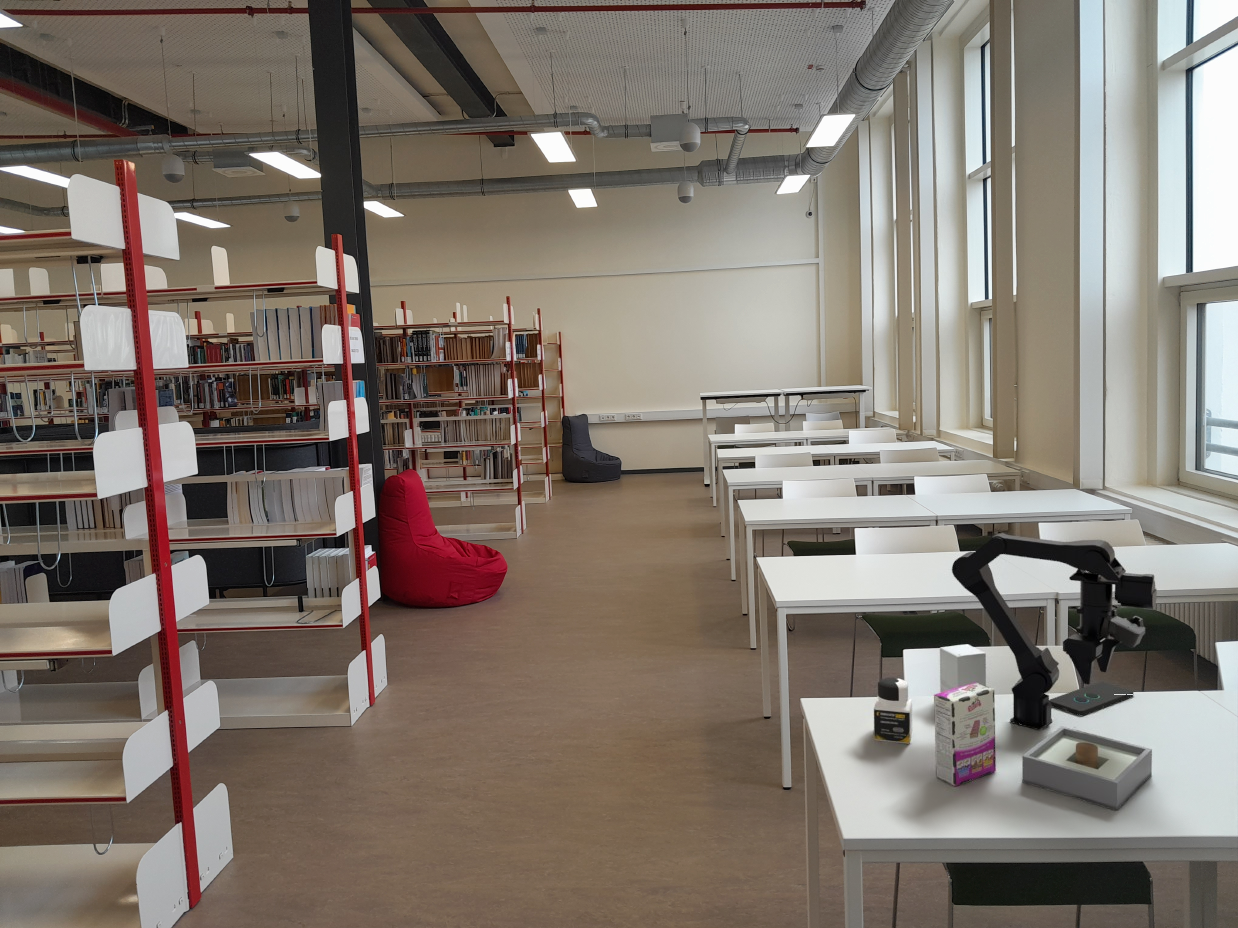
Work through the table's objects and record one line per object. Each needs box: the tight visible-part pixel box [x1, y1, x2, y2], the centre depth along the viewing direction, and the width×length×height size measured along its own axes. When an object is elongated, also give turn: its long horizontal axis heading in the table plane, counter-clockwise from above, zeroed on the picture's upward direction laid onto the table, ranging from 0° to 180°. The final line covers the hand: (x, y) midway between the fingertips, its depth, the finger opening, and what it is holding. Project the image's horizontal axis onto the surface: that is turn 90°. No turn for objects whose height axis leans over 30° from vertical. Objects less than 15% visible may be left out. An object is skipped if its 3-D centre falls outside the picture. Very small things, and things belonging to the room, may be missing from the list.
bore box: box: [1021, 726, 1153, 811], centre depth 164 cm, size 16×18×5 cm
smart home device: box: [1049, 681, 1134, 717], centre depth 200 cm, size 8×2×20 cm
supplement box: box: [939, 643, 987, 693], centre depth 201 cm, size 7×7×13 cm
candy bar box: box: [933, 682, 997, 787], centre depth 167 cm, size 11×5×16 cm, turn 117°
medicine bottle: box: [873, 677, 913, 745], centre depth 186 cm, size 7×7×12 cm
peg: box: [1076, 743, 1098, 769], centre depth 164 cm, size 4×4×6 cm
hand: (1095, 677), depth 181 cm, fingers open, 9 cm apart
